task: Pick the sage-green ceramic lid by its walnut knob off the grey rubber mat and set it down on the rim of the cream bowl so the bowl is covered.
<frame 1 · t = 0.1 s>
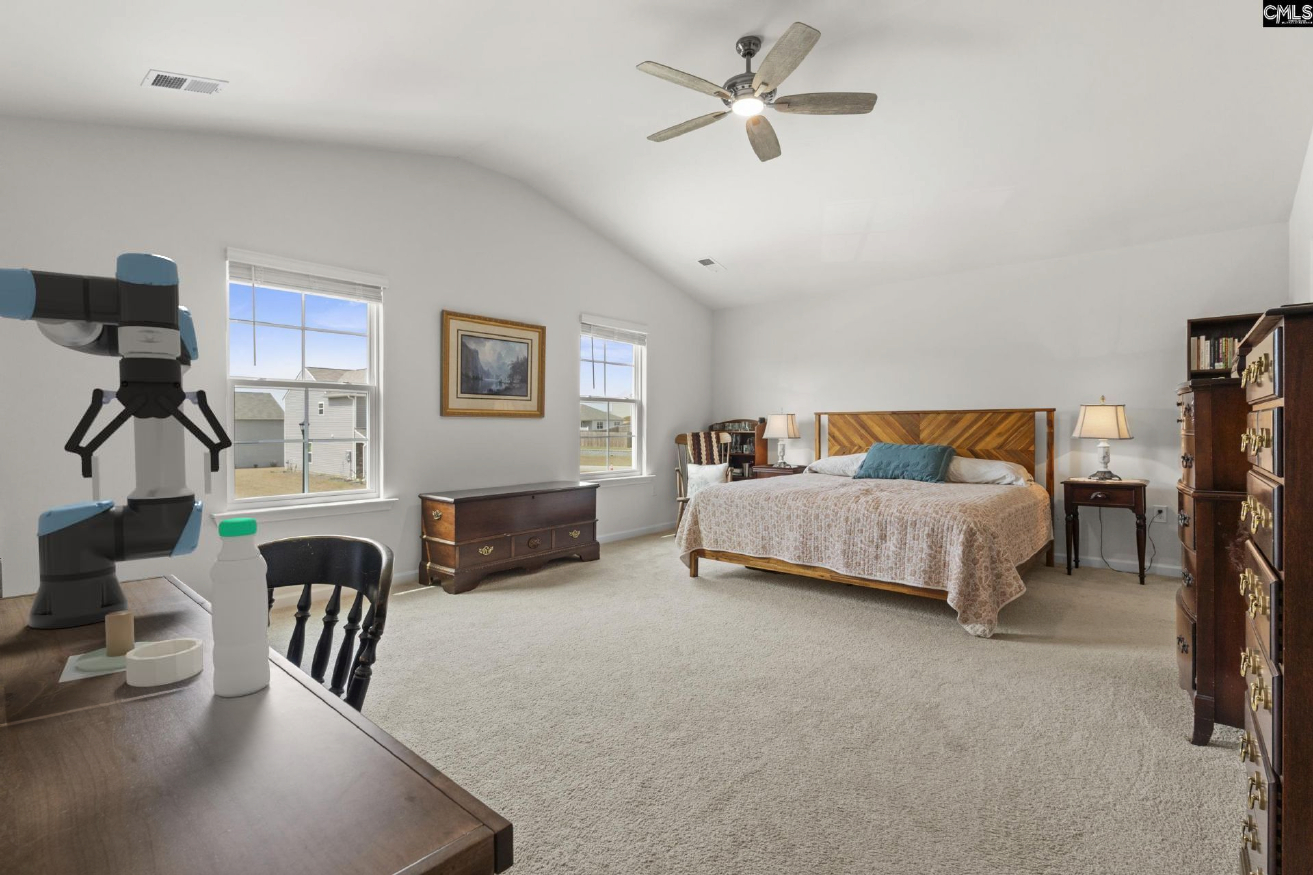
hand: (154, 496, 102), 28 cm above the table, fingers open, 13 cm apart
bowl: (166, 676, 102), on the table
water bottle: (242, 690, 97), on the table
lid: (120, 658, 109), resting on mat
mat: (120, 661, 109), on the table
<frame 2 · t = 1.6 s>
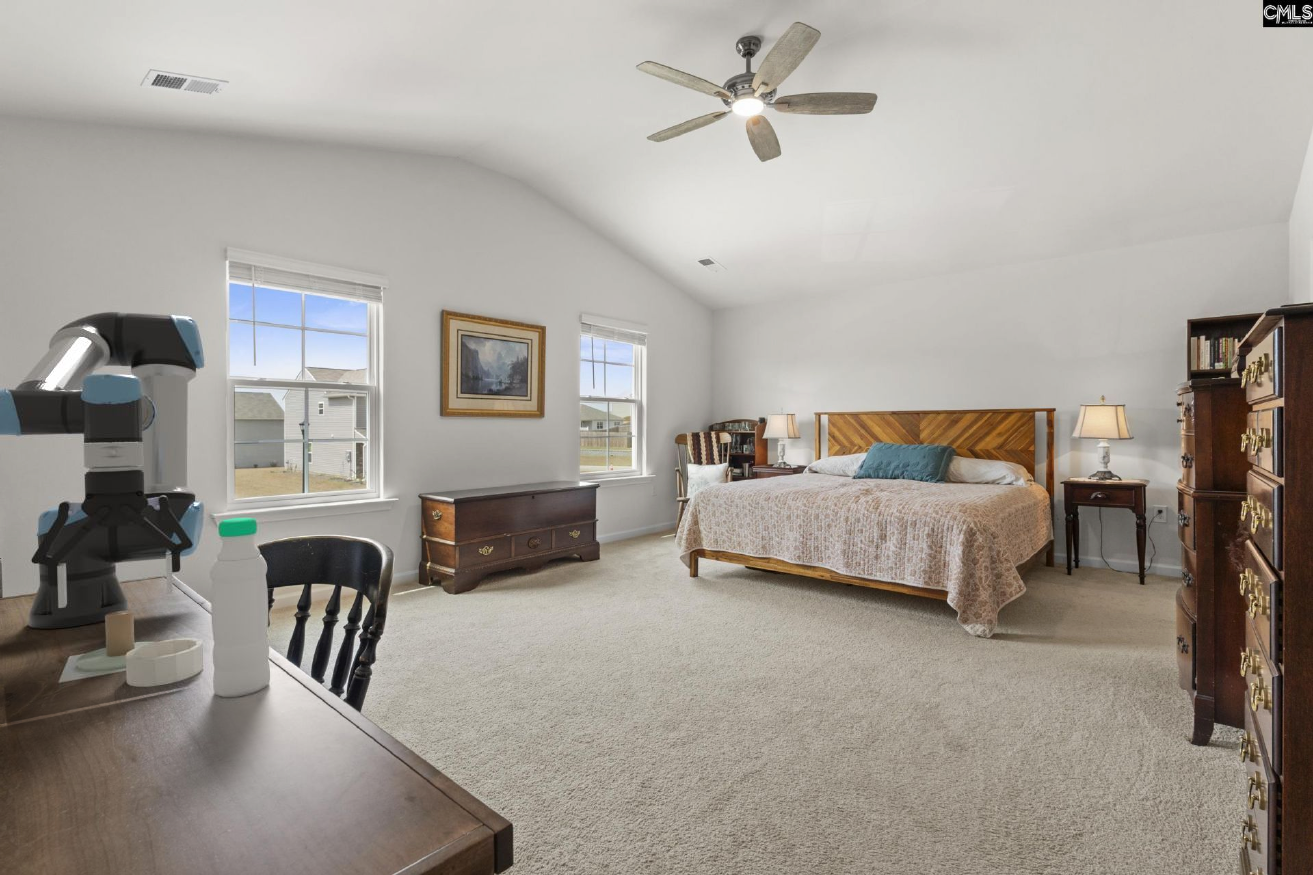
hand: (118, 598, 108), 10 cm above the table, fingers open, 13 cm apart
nothing on the table moved.
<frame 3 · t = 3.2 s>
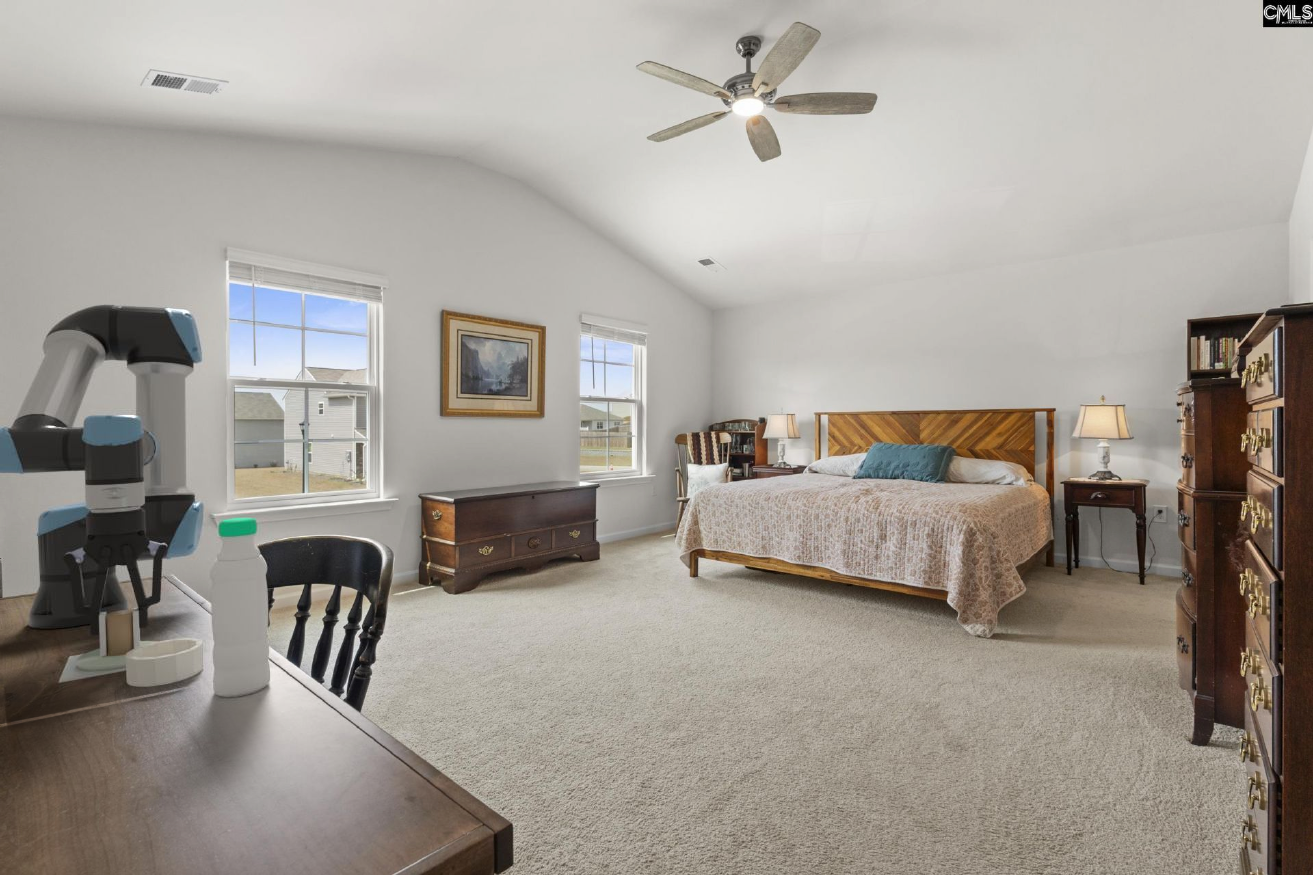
hand: (120, 650, 109), 2 cm above the table, fingers closed on lid, 3 cm apart
lid: (121, 658, 109), resting on mat, touching gripper
everything else where it was.
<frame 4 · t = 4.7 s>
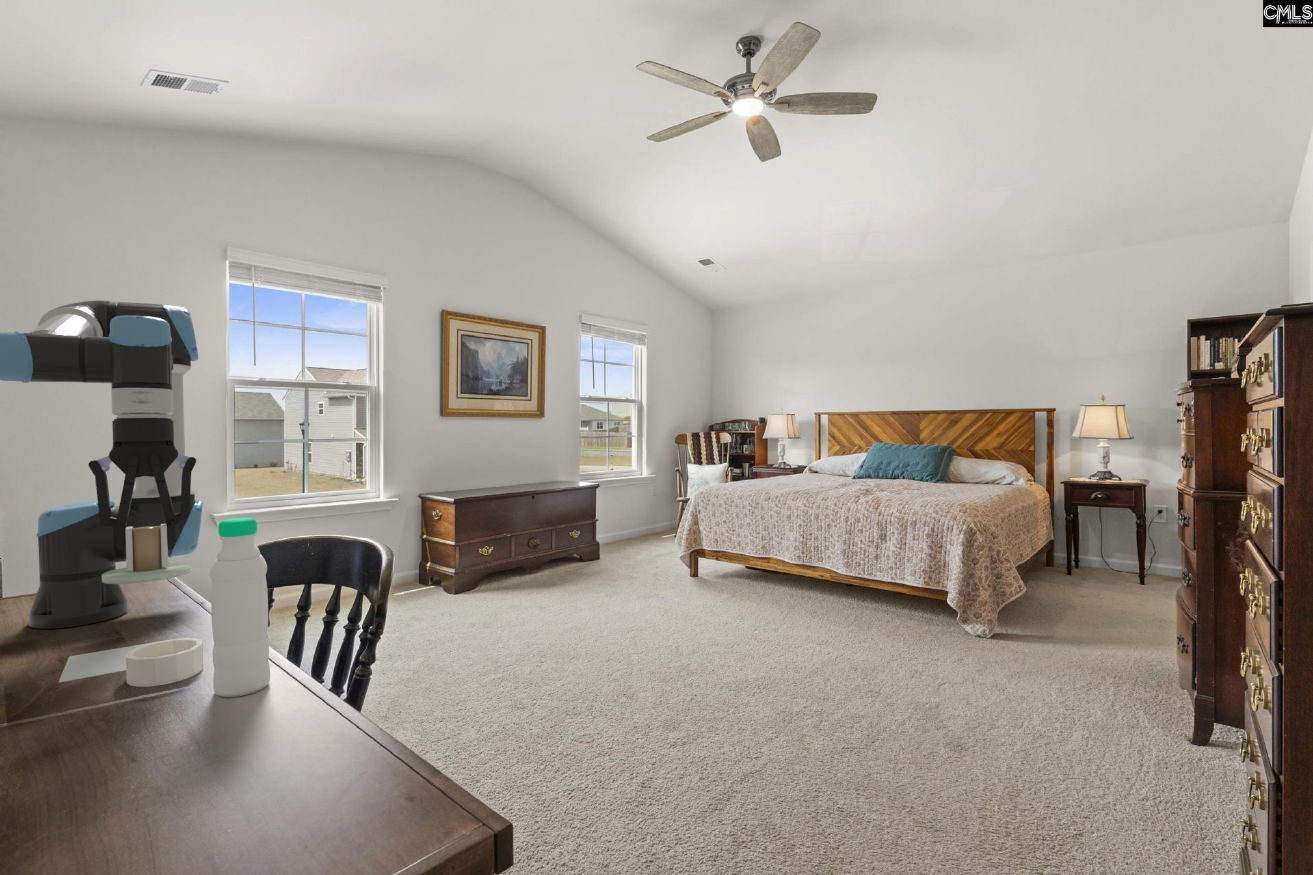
hand: (147, 567, 103), 17 cm above the table, fingers closed on lid, 3 cm apart
lid: (148, 575, 103), point 15 cm above the table, touching gripper
everything else where it was.
when the fingers open (7 cm above the table, at t = 6.5 s): lid drops 1 cm, resting on bowl.
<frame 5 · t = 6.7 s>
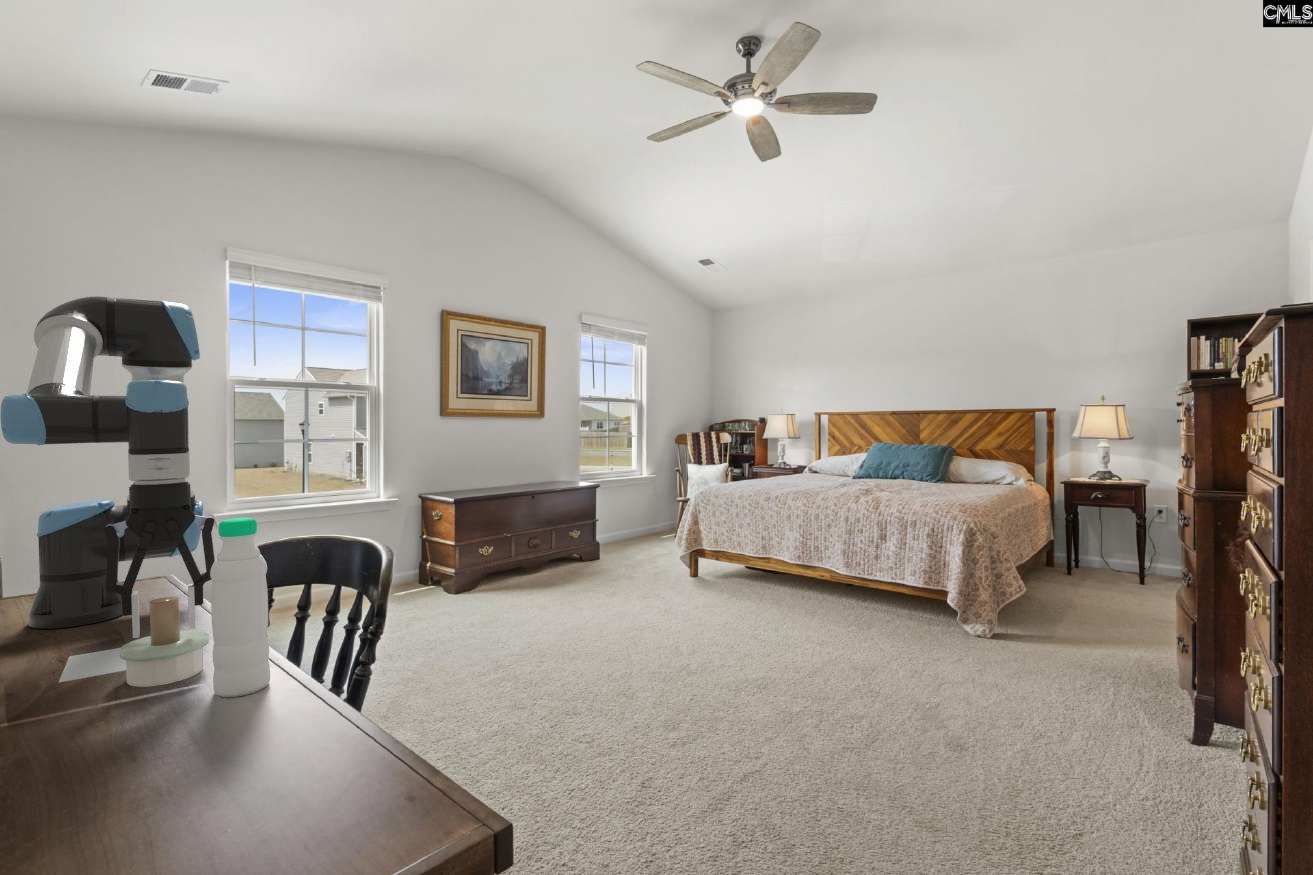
hand: (164, 630, 102), 7 cm above the table, fingers open, 6 cm apart
lid: (165, 648, 102), point 4 cm above the table, touching bowl
everything else where it was.
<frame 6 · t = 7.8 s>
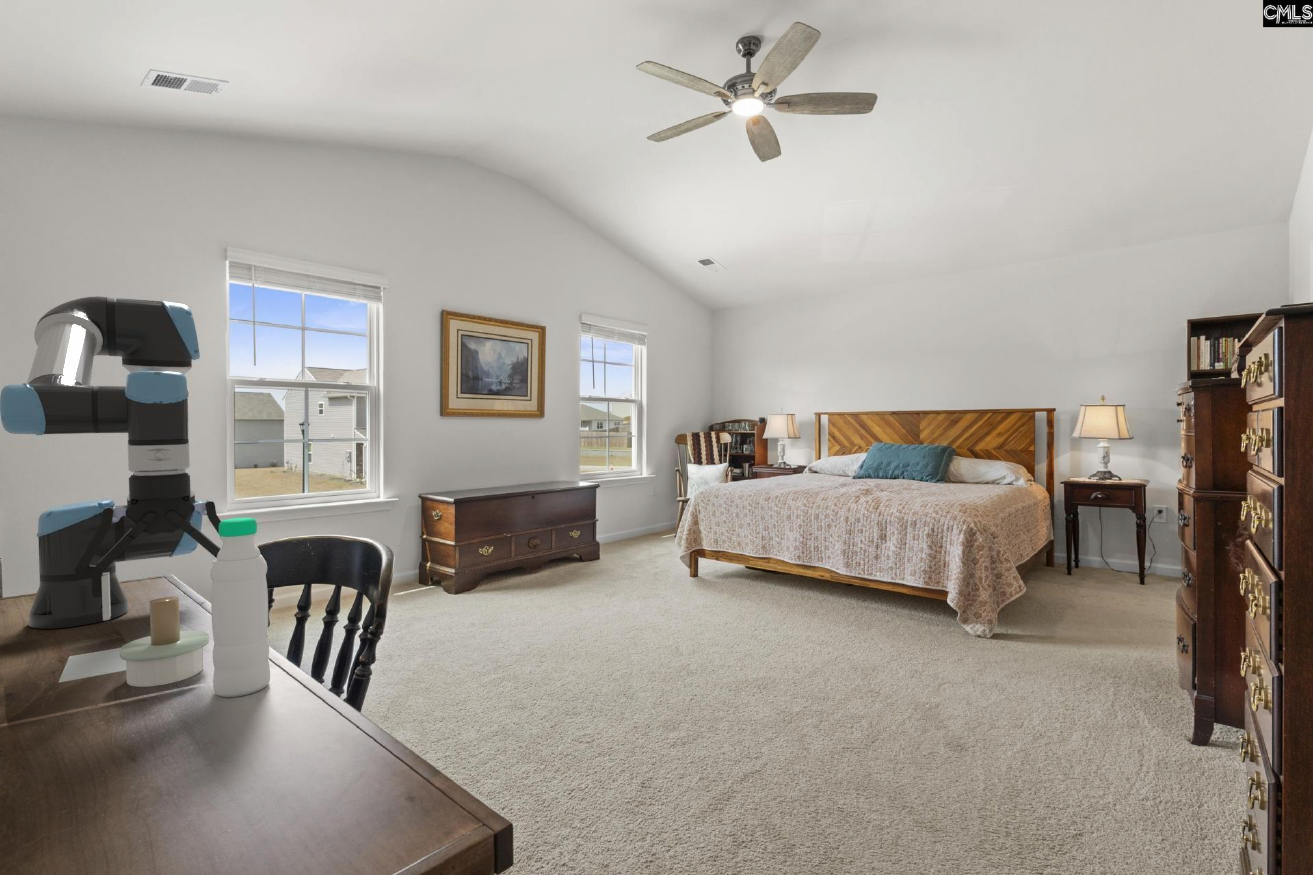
hand: (164, 609, 102), 10 cm above the table, fingers open, 13 cm apart
nothing on the table moved.
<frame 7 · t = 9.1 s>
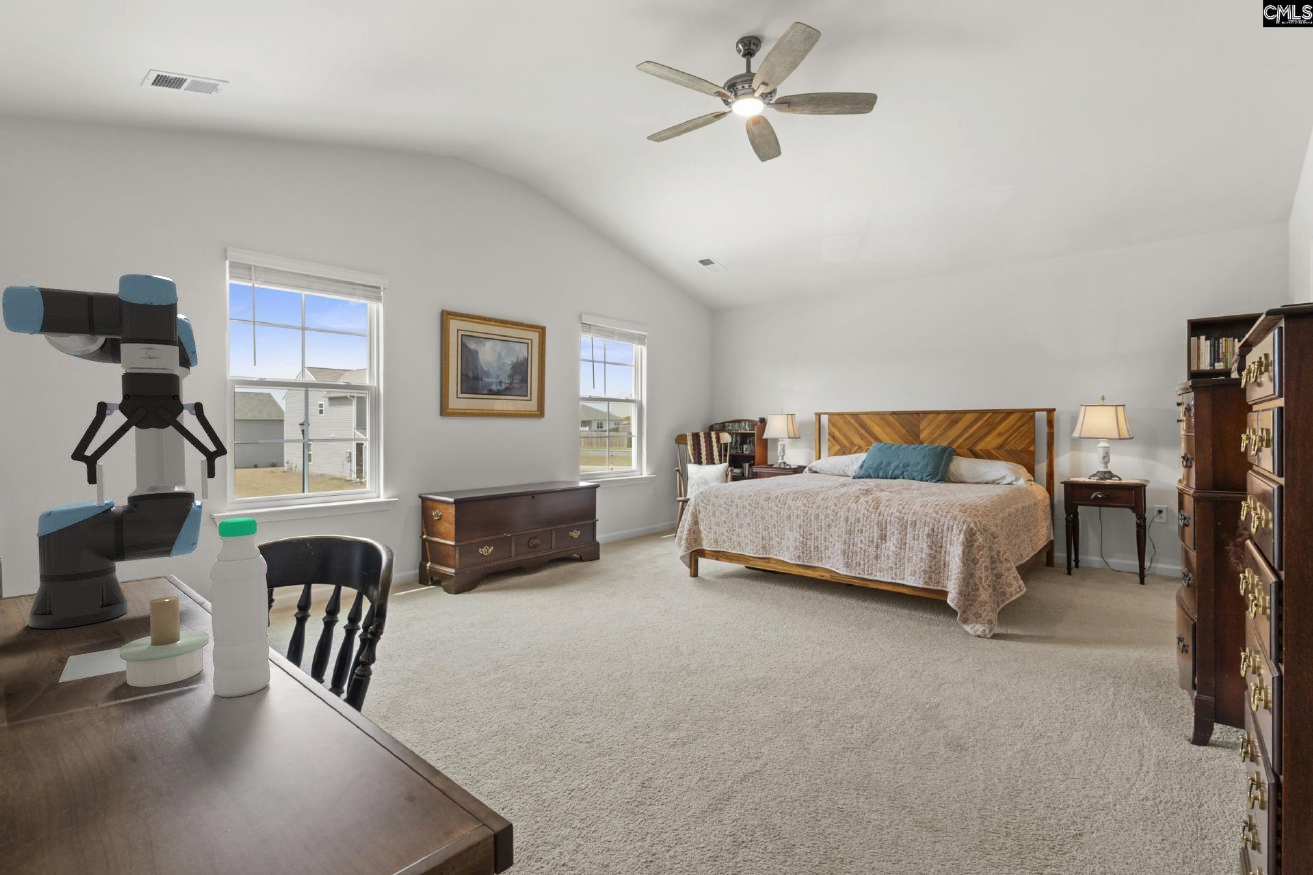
hand: (155, 501, 109), 26 cm above the table, fingers open, 13 cm apart
nothing on the table moved.
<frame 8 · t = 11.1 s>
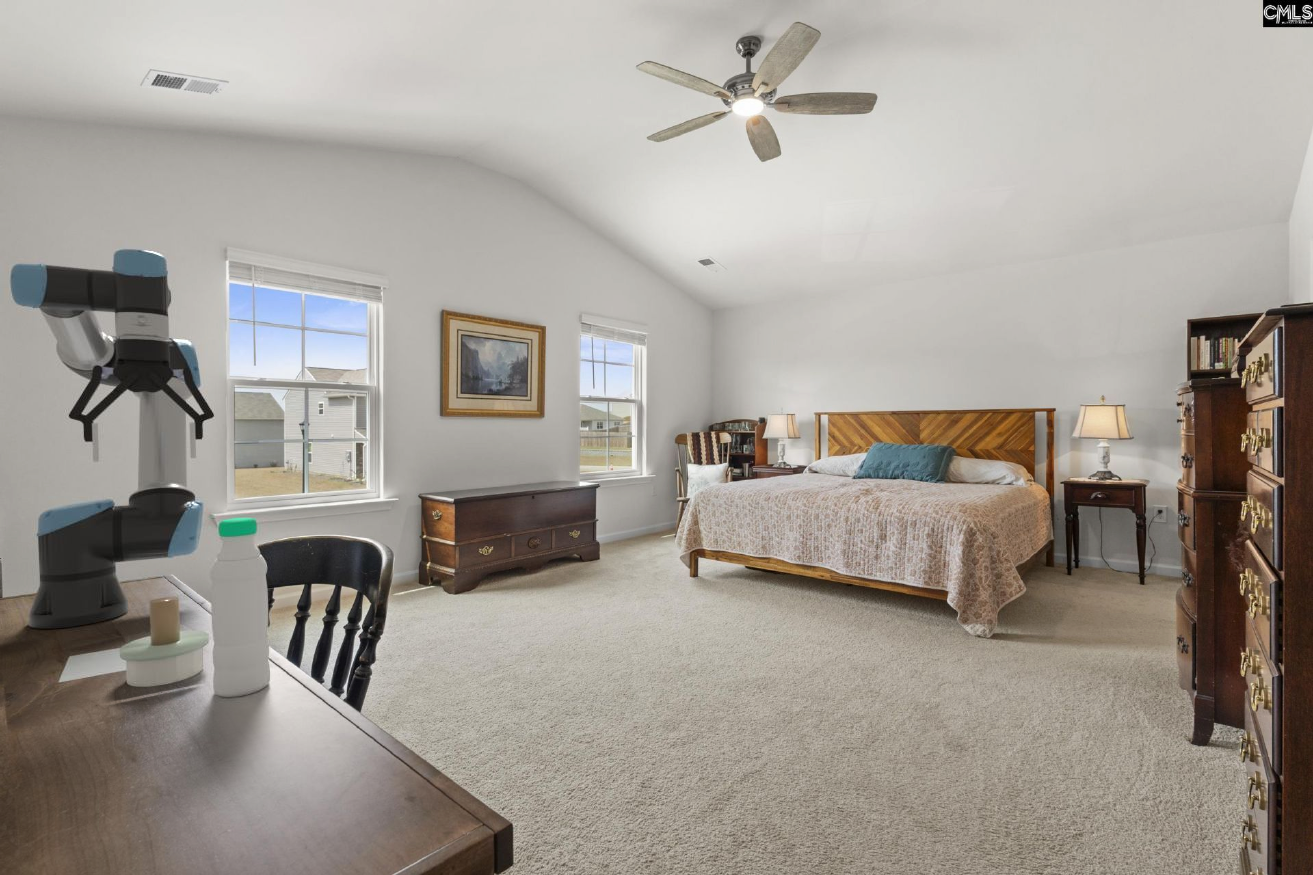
hand: (146, 459, 118), 33 cm above the table, fingers open, 13 cm apart
nothing on the table moved.
at the end: lid 0.1 cm off-centre on the bowl, point 4.4 cm above the bowl's base; lid tilted 0°; the gripper is holding nothing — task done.
